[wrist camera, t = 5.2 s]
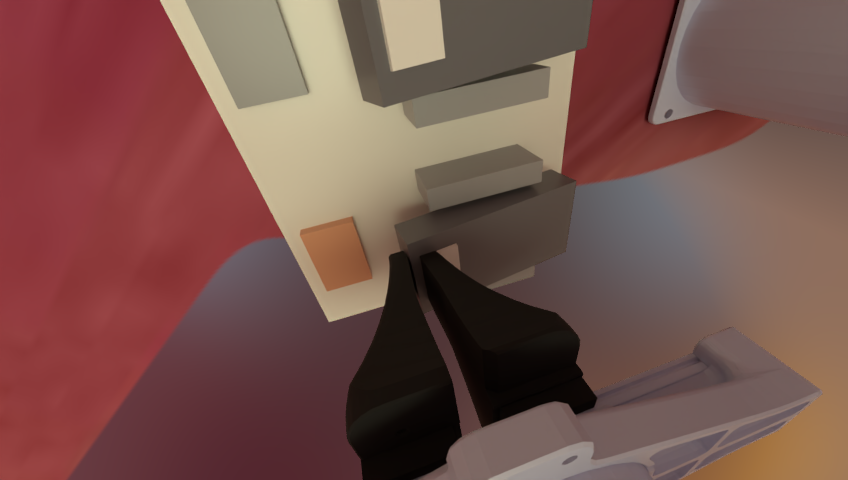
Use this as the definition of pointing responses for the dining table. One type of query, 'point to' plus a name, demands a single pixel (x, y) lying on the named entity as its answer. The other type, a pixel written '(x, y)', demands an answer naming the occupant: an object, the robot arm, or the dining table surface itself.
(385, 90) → the rocker middle
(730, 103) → the robot arm
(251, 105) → the switch panel
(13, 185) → the dining table surface
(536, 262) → the block
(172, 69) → the dining table surface
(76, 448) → the dining table surface
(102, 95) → the dining table surface
